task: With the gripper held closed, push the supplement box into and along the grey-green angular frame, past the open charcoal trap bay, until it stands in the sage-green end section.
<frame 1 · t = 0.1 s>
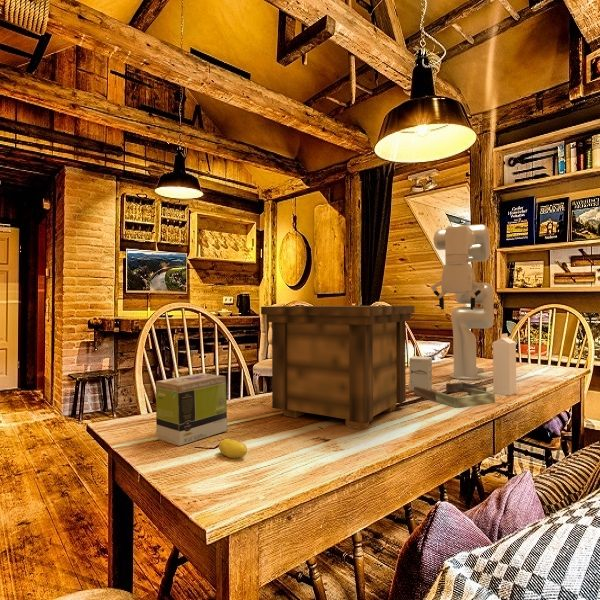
hand: (457, 309, 147), 31 cm above the table, tool pointing down, fingers open, 9 cm apart
tea box: (192, 436, 107), on the table
supplement box: (420, 390, 161), on the table
crate: (341, 412, 129), on the table
milk: (504, 393, 155), on the table
grey-green angular frame: (451, 398, 147), on the table
lemon: (232, 457, 92), on the table
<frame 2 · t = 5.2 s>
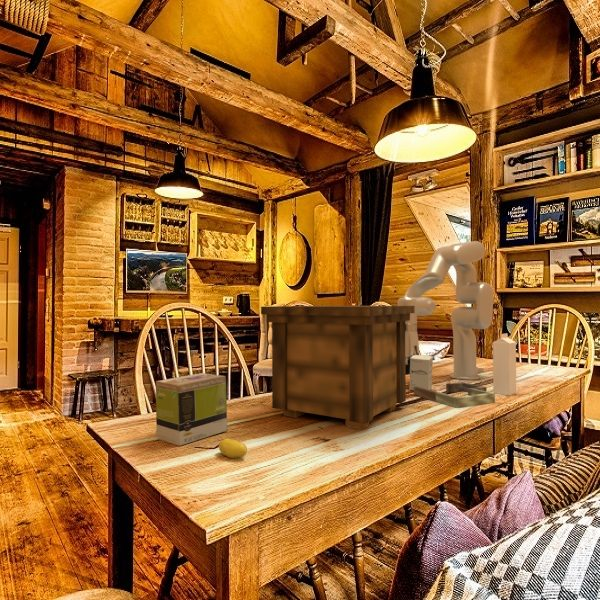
hand: (407, 374, 167), 5 cm above the table, tool pointing down, fingers closed
supplement box: (420, 389, 161), on the table, touching gripper
everything else where it was.
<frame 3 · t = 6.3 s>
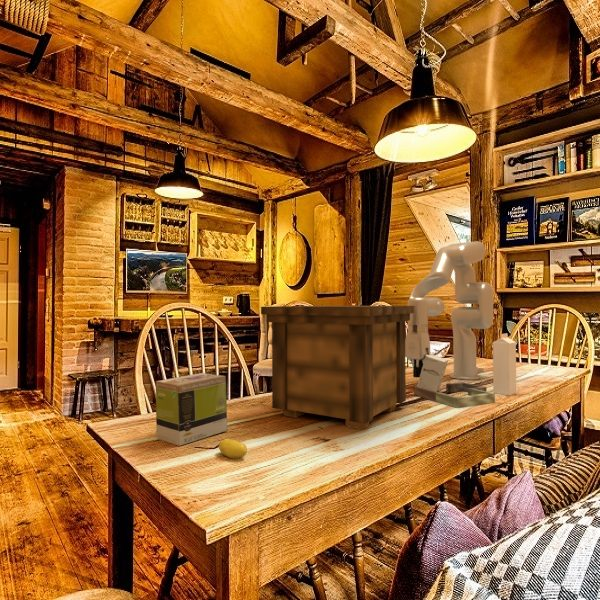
hand: (417, 376, 162), 5 cm above the table, tool pointing down, fingers closed
supplement box: (427, 389, 158), point 1 cm above the table, touching gripper
everything else where it was.
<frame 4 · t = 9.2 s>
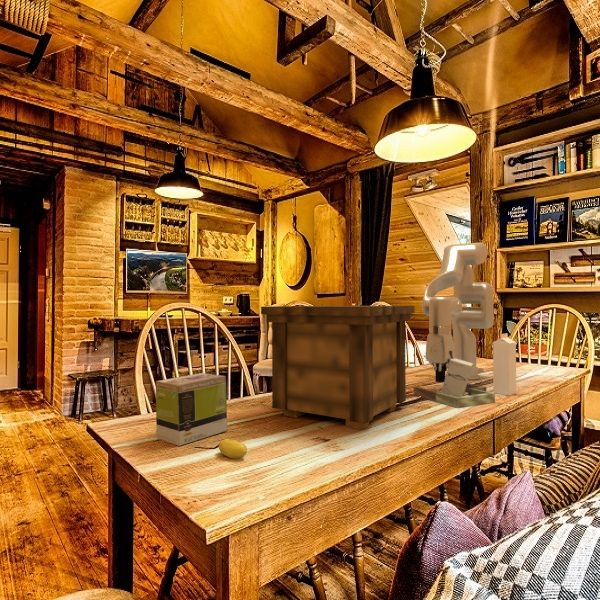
hand: (440, 381, 151), 5 cm above the table, tool pointing down, fingers closed
supplement box: (452, 395, 148), point 1 cm above the table, touching gripper
everything else where it was.
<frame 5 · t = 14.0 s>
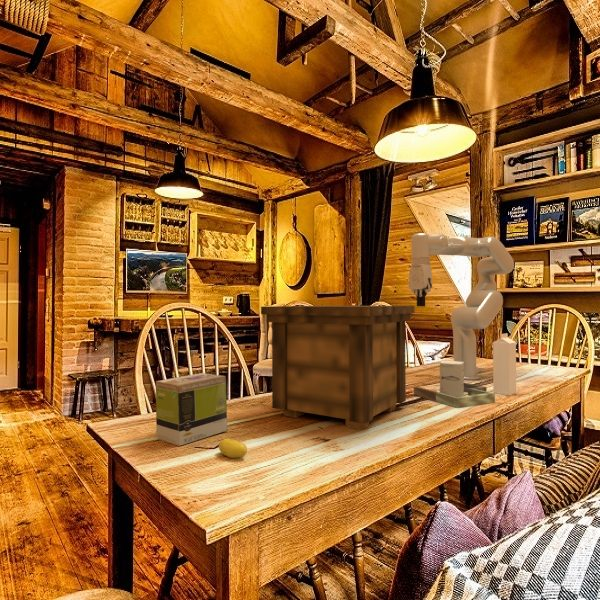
hand: (421, 306, 177), 32 cm above the table, tool pointing down, fingers closed
supplement box: (451, 398, 148), resting in grey-green angular frame
everything else where it was.
at the end: supplement box inside the target area (4.5 cm from its centre), resting in grey-green angular frame; supplement box tilted 0°; supplement box moved 14.7 cm from its start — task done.
